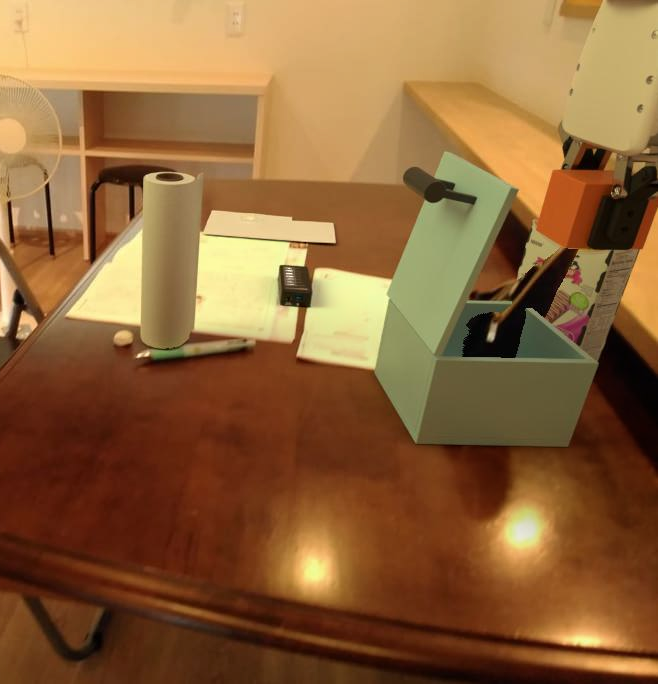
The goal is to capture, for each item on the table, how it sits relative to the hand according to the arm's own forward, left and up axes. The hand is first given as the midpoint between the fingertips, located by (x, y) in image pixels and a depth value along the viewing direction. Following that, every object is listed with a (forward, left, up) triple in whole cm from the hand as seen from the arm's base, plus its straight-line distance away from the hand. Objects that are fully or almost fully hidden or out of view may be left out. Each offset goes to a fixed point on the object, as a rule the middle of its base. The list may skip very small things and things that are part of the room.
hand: (588, 235), depth 54 cm
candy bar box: (-17, -26, -24) cm, 40 cm away
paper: (+11, -76, -24) cm, 81 cm away
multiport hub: (+12, -45, -24) cm, 52 cm away
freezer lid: (+5, -12, -6) cm, 15 cm away
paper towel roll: (+32, -27, -24) cm, 49 cm away
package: (0, 0, 0) cm, 0 cm away
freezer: (-1, -12, -24) cm, 27 cm away
